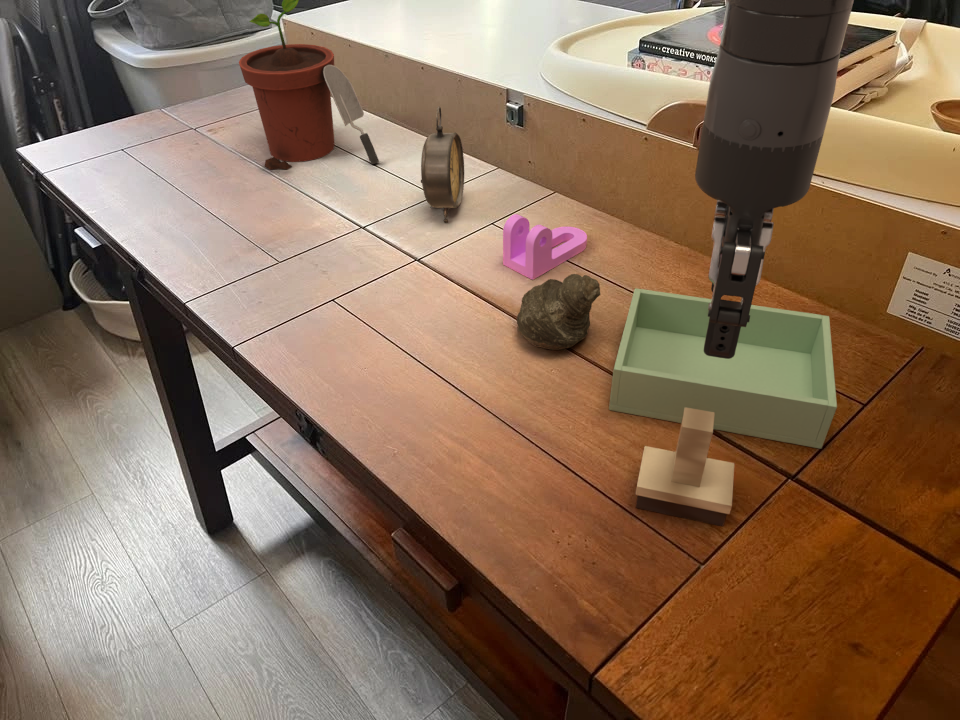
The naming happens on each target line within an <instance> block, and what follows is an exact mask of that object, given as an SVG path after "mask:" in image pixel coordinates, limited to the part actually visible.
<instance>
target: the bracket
mask: <svg viewBox="0 0 960 720" xmlns="http://www.w3.org/2000/svg"><path fill="white" fill-rule="evenodd" d="M587 242H588V235H587V233H586V232H585V231H584V230H583V229H581V228H579V227H574V226H559V227H555V228H553V229H550V228H549V227H547V226H545V225H542V224H536V225H534V226H533V227H531V228H530V220H529V219H528V218H527V217H524V216H522V215H520V214H518V213H514V214H512V215H511V216H509V217H508V219H506V221H505V223H504V224H503V229H502V265H503V266H504V267H506V268H509V269H510V270H512V271H515V272H517V273H518V274H520V275H522V276H524V277H526V278H527V279H530V280H532V281H533V280H535V279H537V278H539V277H541V276H542V275H544V274H546V273H547V272H549V271H551V270H552V269H554V268H556V267H558V266H560V265H561V264H563V263H565V262H566V261H569V260H570V259H572V258H573V257H576V256H577V255H579V254H581V253H582V252H584V251H585V250H586V248H587V244H588V243H587Z"/></svg>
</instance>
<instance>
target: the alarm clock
mask: <svg viewBox="0 0 960 720" xmlns="http://www.w3.org/2000/svg"><path fill="white" fill-rule="evenodd" d="M435 120H436V121H435V124H436V128H435V130H436V132H433V133H430V134H429V135H428V136H427V137H426V139H425V140H424V142H423V146H422V151H421V158H420V176H421V179H420V183H421V187H422V191H423V195H424V198H425V200H426V202H427V204H428V205H429V206H430V207H429V208H430V209H431V208H435V209H437V208H438V209H443V218H444V219H443V223H444V224H447V223H448V222H449V221H448V217H449V209H457V208H459V207H460V205H461V203H462V201H463V195H464V189H465V188H464V187H465V157H464V149H463V143H462V139H461V137H460V135H459V133H457V132H443V126H442V109H441V105H440V106H437V108H436V116H435Z"/></svg>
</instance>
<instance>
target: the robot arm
mask: <svg viewBox="0 0 960 720" xmlns="http://www.w3.org/2000/svg"><path fill="white" fill-rule="evenodd" d="M854 1H855V0H726V5H725V11H724V12H725V13H724V17H723V24H722V29H721V36H720V43H719V47H718V52H717V56H716V59H715V63H714V66H713V69H712V72H711V76H710V80H709V85H708V91H707V96H706V104H705V110H704V115H703V121H702V122H703V123H702V128H701V135H700V141H699V147H698V153H697V159H696V168H695V171H694V177H695V178H694V180H695V182H696V185H697V186H698V188H699V189H700V190H701V191H702V193H704V194H705V195H707V196H708V197H710V198H712V199H714V200H715V201H716V203H715V209H714V214H713V215H714V216H713V224H712V230H711V237H710V238H711V241H712V243H713V246H712V251H711V257H710V263H709V269H708V270H709V271H708V274H707V277H708V280H709V281H710V282H711V288H710V291H711V292H712V296H711V299H712V300H711V303H709V306H708V310H709V311H708V317H710V318H709V323H708V328H707V333H706V339H705V344H704V353H705V354H706V355H708V356H712V357H719V358H725V359H730V358H732V357H734V355H735V351H736V347H737V342H738V338H739V334H740V329H741V327H746V325H747V322H749V321H750V315H749V313H750V308H751V305H753V304H752V303H753V299H754V295H755V290H756V287H757V286H758V285H759V284H760V282H761V278H762V272H763V266H764V261H765V256H766V250H767V247H768V246H769V245H770V244H771V242H772V236H773V233H774V232H773V231H774V226H775V225H774V222H773V221H772V219H773V217H774V211H775V210H774V209H776V208H781V207H782V208H783V207H788V206H790V205H793V204H796V203H798V202H799V201H800V200H802V199H803V198H804V197H805V196H806V195H807V194H808V192H809V190H810V187H811V184H812V179H813V176H814V173H815V169H816V164H817V161H818V157H819V153H820V151H821V145H822V142H823V138H824V134H825V131H826V126H827V123H828V119H829V115H830V111H831V107H832V104H833V100H834V96H835V91H836V85H837V77H838V69H839V61H840V57H841V50H842V48H843V44H844V41H845V37H846V32H847V28H848V25H849V22H850V21H849V20H850V17H851V13H852V9H853V4H854ZM723 296H724V297H725V296H726V297H727V296H728V297H729V296H730V297H738V298H740V301H736V300H728V299H722V297H723Z"/></svg>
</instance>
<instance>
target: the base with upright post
mask: <svg viewBox="0 0 960 720" xmlns="http://www.w3.org/2000/svg"><path fill="white" fill-rule="evenodd" d="M714 416H715V413H714V412H709V411H703V410H698V409H692V408H687V407H685V408H684V413H683V418H682V423H680V428H679V433H678V438H677V443H676V447H675V450H669V449H663V448H658V447H653V446H648V445H644V447H643V451H642V457H641V462H640V467H639V473H638V477H637V483H636V487H635V495H636V496H637V498H636V503H635V509H640V510H644V511H648V512H654V513H657V514H663V515H668V516H672V517H677V518H682V519H687V520H691V521H696V522H701V523H706V524H709V525H714V526H719V527H724V525H725V522H726V518H727V515H730V514H731V510H732V507H733V495H734V479H735V462H731V461H725V460H720V459H716V458H711V457H708V455H709V450H710V446H711V442H712V438H713V433H714V429H713V426H714Z"/></svg>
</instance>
